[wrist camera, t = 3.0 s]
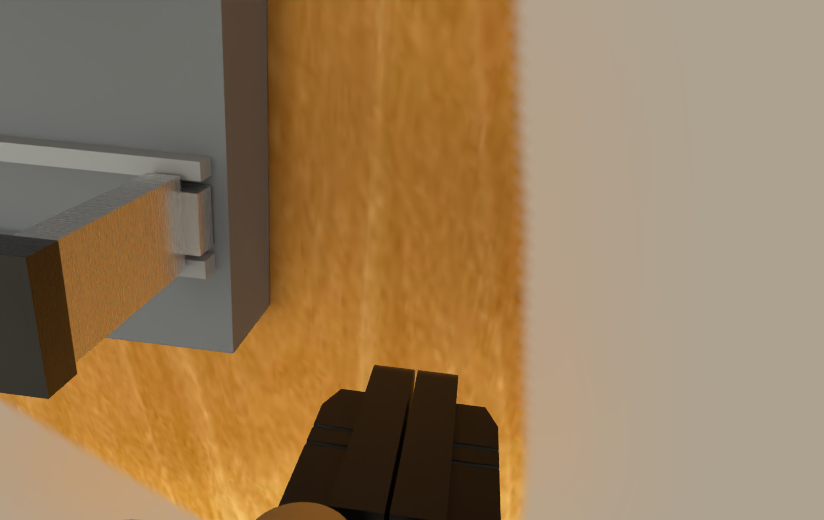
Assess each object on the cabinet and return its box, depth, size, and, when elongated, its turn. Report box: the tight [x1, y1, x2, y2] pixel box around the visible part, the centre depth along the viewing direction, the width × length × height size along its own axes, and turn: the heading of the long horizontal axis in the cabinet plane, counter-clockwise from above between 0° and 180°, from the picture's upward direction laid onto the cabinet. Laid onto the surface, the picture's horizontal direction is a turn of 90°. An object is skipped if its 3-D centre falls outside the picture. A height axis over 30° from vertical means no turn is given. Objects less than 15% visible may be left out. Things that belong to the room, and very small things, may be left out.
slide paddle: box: [0, 173, 213, 399], centre depth 16 cm, size 3×2×8 cm, turn 176°
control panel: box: [0, 0, 270, 353], centre depth 20 cm, size 20×12×5 cm, turn 176°
